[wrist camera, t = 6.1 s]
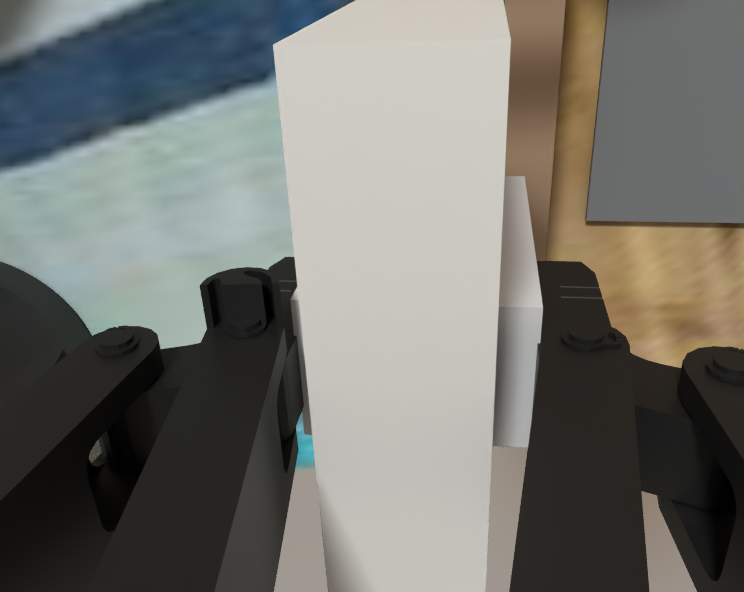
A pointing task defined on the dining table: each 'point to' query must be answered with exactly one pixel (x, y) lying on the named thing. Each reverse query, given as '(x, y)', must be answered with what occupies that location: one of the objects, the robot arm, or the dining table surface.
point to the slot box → (534, 103)
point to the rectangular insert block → (399, 279)
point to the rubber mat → (670, 113)
